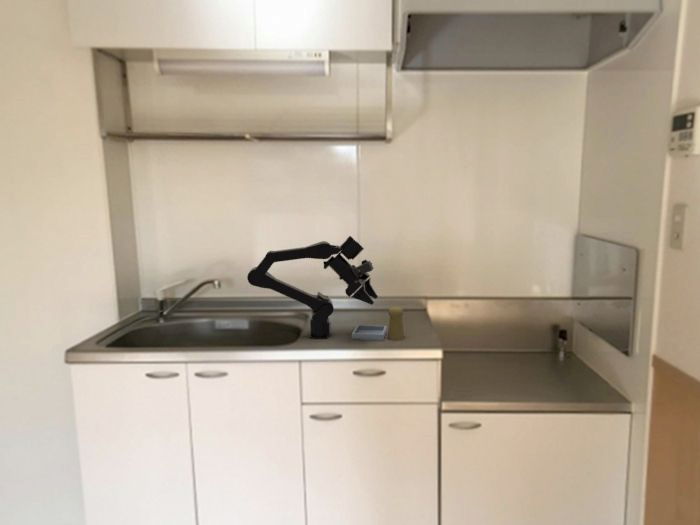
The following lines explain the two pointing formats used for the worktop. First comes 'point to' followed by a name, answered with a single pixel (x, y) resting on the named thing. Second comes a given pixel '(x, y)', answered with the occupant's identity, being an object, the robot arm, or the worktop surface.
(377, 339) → the tray
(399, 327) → the cork
